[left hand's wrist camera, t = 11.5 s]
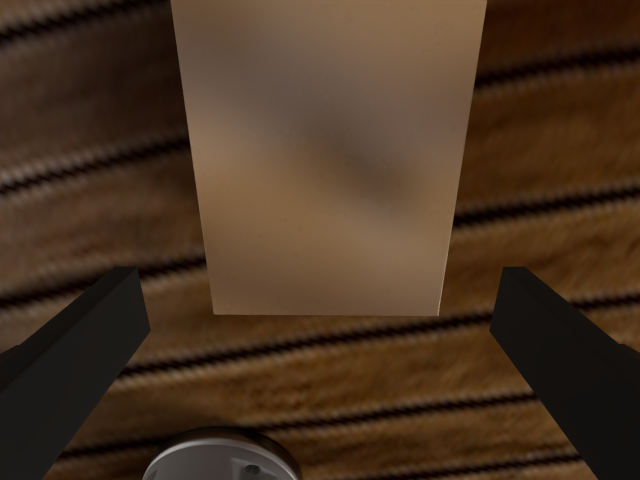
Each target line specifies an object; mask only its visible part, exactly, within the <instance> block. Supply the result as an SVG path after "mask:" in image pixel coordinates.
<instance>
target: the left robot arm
mask: <svg viewBox="0 0 640 480" xmlns="http://www.w3.org/2000/svg"><path fill="white" fill-rule="evenodd" d="M150 331H151V330H150V326H149V321H148V316H147V312H146V307H145V303H144V298H143V293H142V289H141V284H140V280H139V275H138V271H137V267H115V268H113V269H112V270H111V271H110V272H108V273H107V274H106V275H105V276H104V277H102V278H101V279H100V280H99V281H97V282H96V283H95V284H94V285H93V286H91V287H90V288H89V289H88V290H86V291H85V292H84V293H83V294H82V295H80V296H79V297H78V298H77V299H75V300H74V301H73V302H72V303H71V304H69V305H68V306H67V307H66V308H64V309H63V310H62V311H61V312H60V313H58V314H57V315H56V316H55V317H53V318H52V319H51V320H50V321H49V322H47V323H46V324H45V325H44V326H42V327H41V328H40V329H39V330H38V331H36V332H35V333H34V334H33V335H31V336H30V337H29V338H28V339H27V340H25V341H24V342H23V343H22V344H20V345H16V346H14V347H13V348H11V349H9V350H7V351H5V352H3V353H2V354H0V480H42V479H43V477H44V476H45V475H46V473H47V472H48V470H49V469H50V468H51V466H52V465H53V464H54V462H55V461H56V459H57V458H58V457H59V455H60V454H61V453H62V451H63V450H64V449H65V447H66V446H67V444H68V443H69V442H70V440H71V439H72V438H73V436H74V435H75V434H76V432H77V431H78V429H79V428H80V427H81V425H82V424H83V423H84V421H85V420H86V418H87V417H88V416H89V414H90V413H91V412H92V410H93V409H94V408H95V406H96V405H97V403H98V402H99V401H100V399H101V398H102V397H103V395H104V394H105V393H106V391H107V390H108V388H109V387H110V386H111V384H112V383H113V382H114V380H115V379H116V377H117V376H118V375H119V373H120V372H121V371H122V369H123V368H124V367H125V365H126V364H127V362H128V361H129V360H130V358H131V357H132V356H133V354H134V353H135V352H136V350H137V349H138V347H139V346H140V345H141V343H142V342H143V341H144V339H145V338H146V336H147V335H148V334H149V332H150ZM489 331H490V332H491V334H492V335H493V336H494V338H495V339H496V341H497V342H498V343H499V345H500V346H501V347H502V349H503V350H504V352H505V353H506V354H507V356H508V357H509V358H510V360H511V361H512V362H513V364H514V365H515V367H516V368H517V369H518V371H519V372H520V373H521V375H522V376H523V377H524V379H525V380H526V382H527V383H528V384H529V386H530V387H531V388H532V390H533V391H534V393H535V394H536V395H537V397H538V398H539V399H540V401H541V402H542V403H543V405H544V406H545V408H546V409H547V410H548V412H549V413H550V414H551V416H552V417H553V418H554V420H555V421H556V423H557V424H558V425H559V427H560V428H561V429H562V431H563V432H564V434H565V435H566V436H567V438H568V439H569V440H570V442H571V443H572V444H573V446H574V447H575V449H576V450H577V451H578V453H579V454H580V455H581V457H582V458H583V459H584V461H585V462H586V464H587V465H588V466H589V468H590V469H591V470H592V472H593V473H594V475H595V476H596V477H597V479H598V480H640V353H639V352H638V351H636V350H634V349H632V348H630V347H628V346H626V345H625V344H618V343H617V342H616V341H615V340H613V339H612V338H611V337H610V336H609V335H607V334H606V333H605V332H604V331H602V330H601V329H600V328H599V327H598V326H596V325H595V324H594V323H593V322H591V321H590V320H589V319H588V318H587V317H585V316H584V315H583V314H582V313H580V312H579V311H578V310H577V309H576V308H574V307H573V306H572V305H571V304H569V303H568V302H567V301H566V300H565V299H563V298H562V297H561V296H560V295H558V294H557V293H556V292H555V291H554V290H552V289H551V288H550V287H549V286H547V285H546V284H545V283H544V282H543V281H541V280H540V279H539V278H538V277H536V276H535V275H534V274H533V273H532V272H530V271H529V270H528V269H527V268H525V267H503V271H502V275H501V280H500V284H499V289H498V293H497V298H496V303H495V307H494V312H493V316H492V321H491V326H490V330H489ZM142 480H303V476H302V473H301V471H300V468H299V466H298V465H297V463H296V462H295V460H294V459H293V458H292V457H291V456H290V455H289V454H288V453H287V452H286V451H285V450H284V449H283V448H281V447H280V446H278V445H277V444H275V443H274V442H272V441H270V440H268V439H266V438H264V437H261V436H259V435H256V434H253V433H250V432H246V431H242V430H237V429H230V428H204V429H197V430H193V431H189V432H185V433H183V434H180V435H177V436H176V437H174V438H172V439H170V440H168V441H167V442H165V443H164V444H163V445H162V446H161V447H160V448H159V449H158V450H157V451H156V453H155V454H154V456H153V458H152V459H151V462H150V464H149V466H148V468H147V470H146V472H145V474H144V476H143V479H142Z"/></svg>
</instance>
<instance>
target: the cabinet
mask: <svg viewBox="0 0 640 480" xmlns="http://www.w3.org/2000/svg"><path fill="white" fill-rule="evenodd" d="M486 4H487V0H171V7H172V14H173V22H174V29H175V36H176V43H177V51H178V58H179V65H180V72H181V80H182V87H183V94H184V101H185V109H186V116H187V123H188V130H189V138H190V145H191V152H192V159H193V167H194V174H195V181H196V188H197V196H198V203H199V210H200V217H201V225H202V232H203V239H204V246H205V254H206V261H207V268H208V276H209V283H210V290H211V297H212V305H213V312H214V314H229V315H372V316H438V314H439V307H440V301H441V294H442V288H443V281H444V275H445V269H446V262H447V256H448V249H449V243H450V236H451V230H452V223H453V217H454V210H455V204H456V198H457V191H458V185H459V178H460V172H461V165H462V159H463V152H464V146H465V139H466V133H467V127H468V120H469V114H470V107H471V101H472V94H473V88H474V81H475V75H476V68H477V62H478V56H479V49H480V43H481V36H482V30H483V23H484V17H485V10H486Z"/></svg>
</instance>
